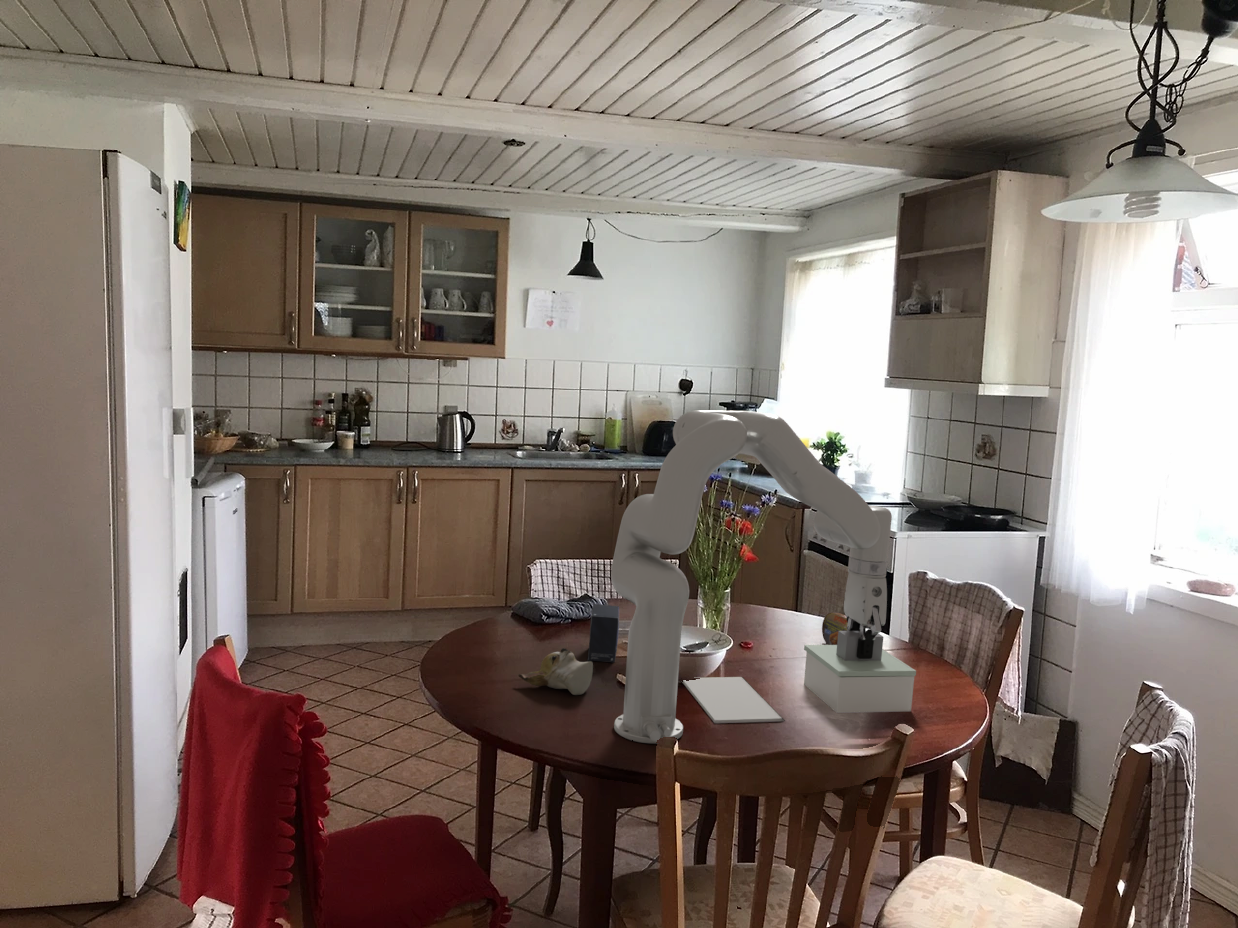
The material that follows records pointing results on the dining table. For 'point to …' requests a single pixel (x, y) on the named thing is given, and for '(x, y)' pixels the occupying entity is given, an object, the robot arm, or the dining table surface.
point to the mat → (731, 700)
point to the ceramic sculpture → (562, 673)
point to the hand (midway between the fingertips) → (858, 653)
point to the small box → (603, 633)
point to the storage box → (858, 690)
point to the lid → (846, 661)
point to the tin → (833, 627)
